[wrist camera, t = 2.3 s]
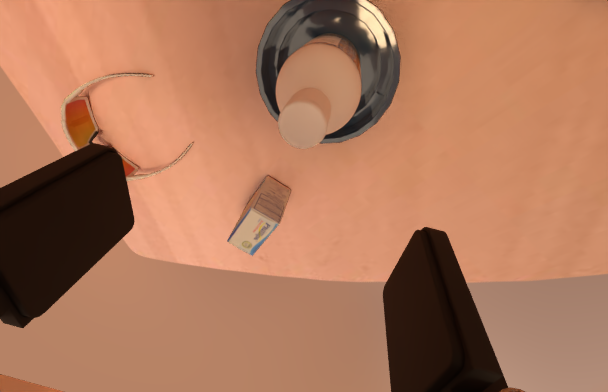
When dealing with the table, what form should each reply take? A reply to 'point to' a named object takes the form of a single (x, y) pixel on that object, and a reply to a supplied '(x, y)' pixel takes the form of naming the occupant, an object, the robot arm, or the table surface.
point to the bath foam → (318, 90)
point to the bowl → (346, 22)
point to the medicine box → (260, 216)
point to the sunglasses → (94, 125)
